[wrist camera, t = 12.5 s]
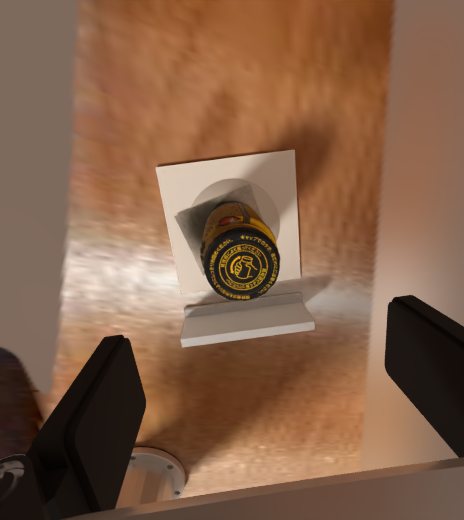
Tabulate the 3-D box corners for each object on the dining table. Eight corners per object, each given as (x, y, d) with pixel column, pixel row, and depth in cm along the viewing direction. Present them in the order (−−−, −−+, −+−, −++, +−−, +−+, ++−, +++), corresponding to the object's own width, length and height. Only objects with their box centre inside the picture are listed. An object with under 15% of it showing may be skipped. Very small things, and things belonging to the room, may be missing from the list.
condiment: (273, 246, 30) (305, 292, 19) (203, 275, 31) (194, 336, 20) (249, 183, 28) (270, 193, 17) (174, 215, 29) (145, 246, 17)
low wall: (301, 314, 34) (314, 337, 29) (188, 329, 34) (183, 355, 29) (300, 292, 33) (314, 313, 28) (184, 307, 33) (178, 331, 28)
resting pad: (299, 277, 32) (300, 278, 32) (181, 292, 32) (180, 294, 32) (293, 149, 28) (294, 149, 27) (156, 167, 28) (155, 167, 27)
